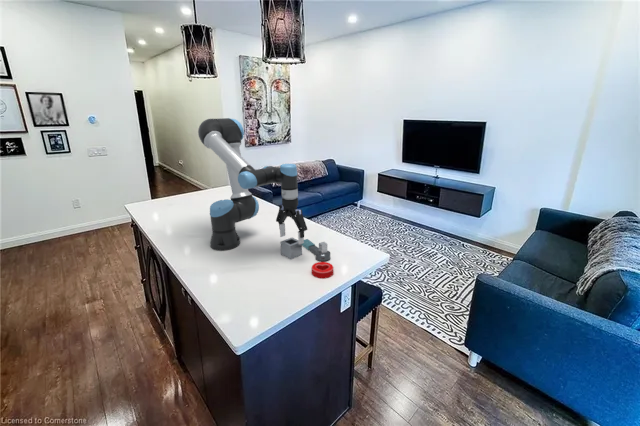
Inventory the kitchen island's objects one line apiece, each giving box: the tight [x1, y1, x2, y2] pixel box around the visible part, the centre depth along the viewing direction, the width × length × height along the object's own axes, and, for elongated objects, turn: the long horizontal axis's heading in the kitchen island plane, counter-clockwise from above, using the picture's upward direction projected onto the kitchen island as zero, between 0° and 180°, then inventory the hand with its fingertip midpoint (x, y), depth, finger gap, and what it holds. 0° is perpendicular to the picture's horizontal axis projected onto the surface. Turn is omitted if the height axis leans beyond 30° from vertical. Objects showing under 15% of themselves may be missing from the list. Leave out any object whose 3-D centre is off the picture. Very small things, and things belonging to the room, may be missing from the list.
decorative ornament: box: [311, 261, 335, 279], centre depth 129 cm, size 10×10×3 cm
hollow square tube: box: [279, 237, 303, 260], centre depth 145 cm, size 7×7×7 cm
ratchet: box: [302, 238, 331, 263], centre depth 147 cm, size 22×7×8 cm, turn 31°
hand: (291, 239), depth 143 cm, fingers open, 13 cm apart
